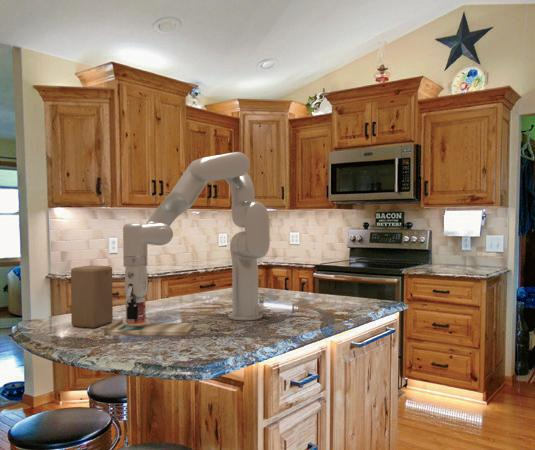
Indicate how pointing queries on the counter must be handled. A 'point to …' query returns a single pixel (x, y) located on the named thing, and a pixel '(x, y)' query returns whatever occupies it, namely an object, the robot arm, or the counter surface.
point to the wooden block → (91, 296)
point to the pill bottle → (141, 313)
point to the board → (149, 329)
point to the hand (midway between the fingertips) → (136, 316)
